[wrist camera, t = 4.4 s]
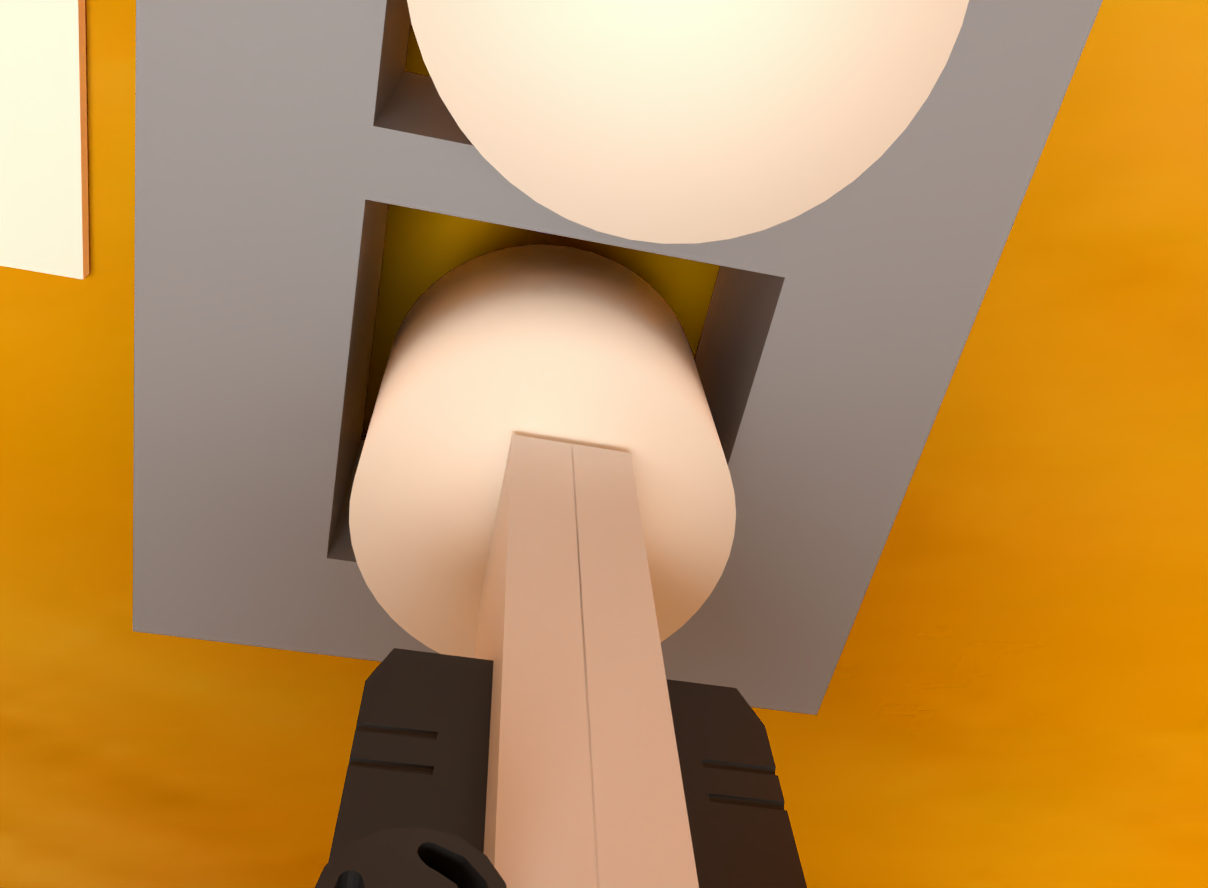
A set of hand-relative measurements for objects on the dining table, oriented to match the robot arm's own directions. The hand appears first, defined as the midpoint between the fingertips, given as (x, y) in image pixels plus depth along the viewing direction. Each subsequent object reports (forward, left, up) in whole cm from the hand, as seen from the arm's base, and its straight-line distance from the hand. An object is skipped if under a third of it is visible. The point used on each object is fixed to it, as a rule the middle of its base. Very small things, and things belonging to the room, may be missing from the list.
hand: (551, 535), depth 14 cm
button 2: (0, 0, -6) cm, 6 cm away
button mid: (0, +7, -5) cm, 8 cm away
